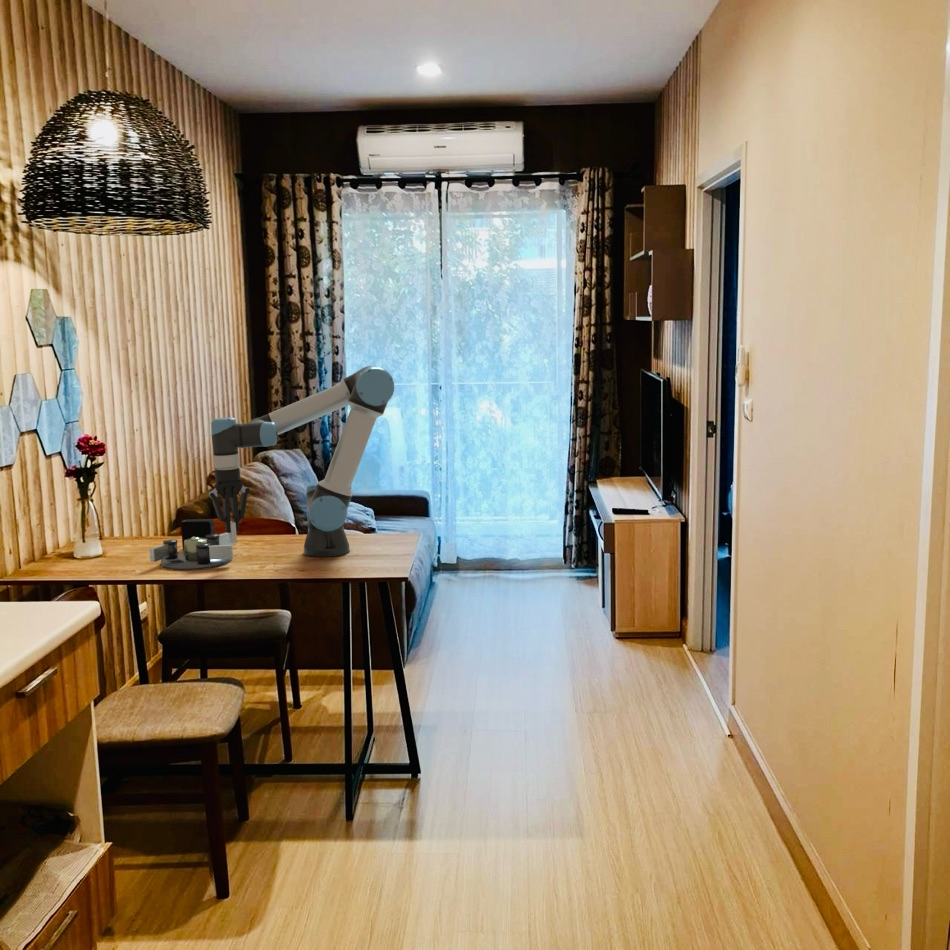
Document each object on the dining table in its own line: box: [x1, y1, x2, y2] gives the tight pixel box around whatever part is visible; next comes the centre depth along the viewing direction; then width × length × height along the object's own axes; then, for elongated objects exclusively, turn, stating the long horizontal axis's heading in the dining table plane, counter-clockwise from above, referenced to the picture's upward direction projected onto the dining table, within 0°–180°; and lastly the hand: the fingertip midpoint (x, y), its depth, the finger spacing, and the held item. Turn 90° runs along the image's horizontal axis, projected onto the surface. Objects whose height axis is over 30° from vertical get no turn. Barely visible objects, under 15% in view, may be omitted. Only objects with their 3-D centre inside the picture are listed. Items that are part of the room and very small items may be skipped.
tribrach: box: [160, 537, 233, 571], centre depth 311 cm, size 22×22×8 cm
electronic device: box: [180, 518, 215, 551], centre depth 330 cm, size 4×10×10 cm, turn 89°
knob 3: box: [196, 543, 234, 564], centre depth 305 cm, size 11×4×6 cm, turn 95°
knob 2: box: [206, 532, 235, 546], centre depth 321 cm, size 11×4×6 cm, turn 153°
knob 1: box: [149, 538, 179, 563], centre depth 307 cm, size 11×4×6 cm, turn 159°
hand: (233, 542), depth 302 cm, fingers closed
